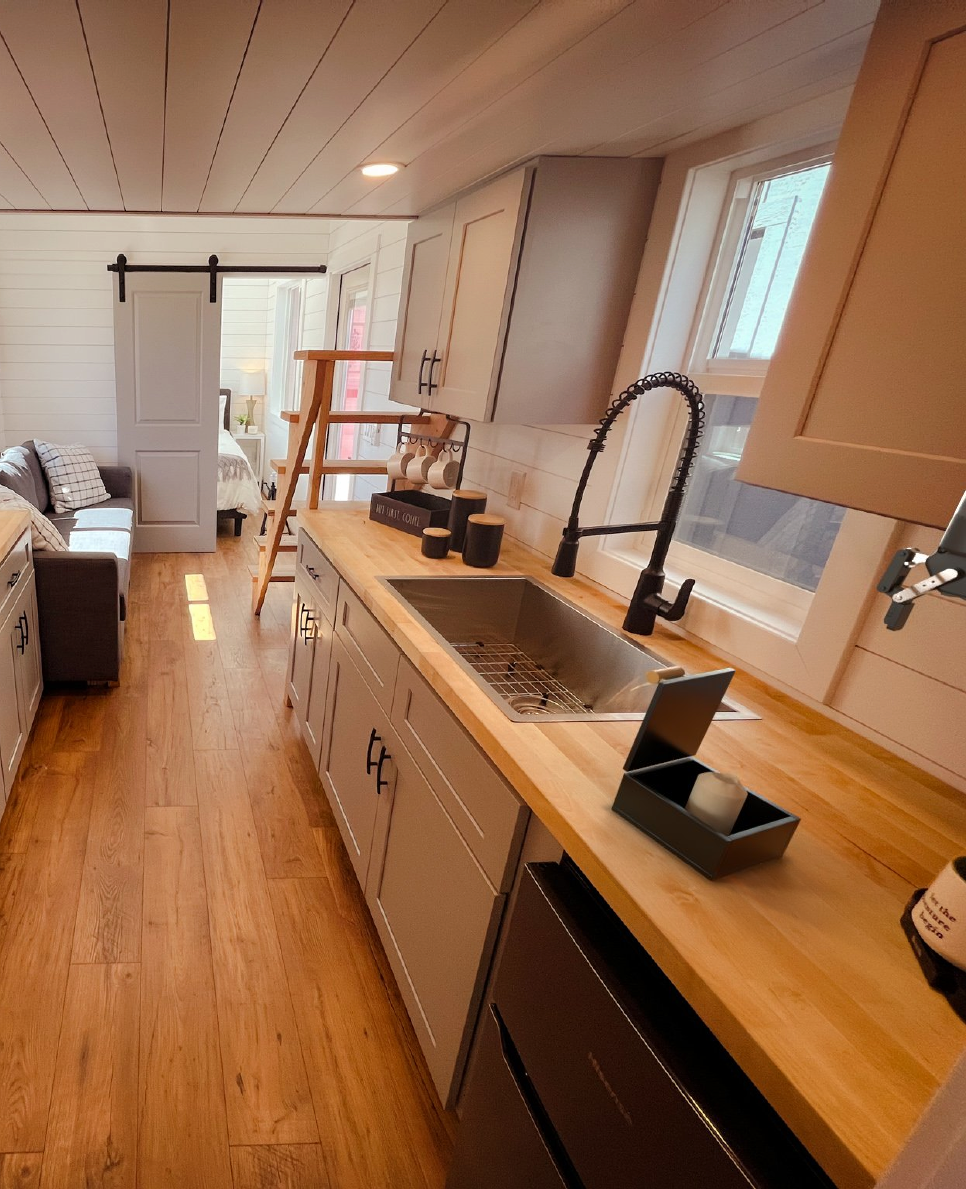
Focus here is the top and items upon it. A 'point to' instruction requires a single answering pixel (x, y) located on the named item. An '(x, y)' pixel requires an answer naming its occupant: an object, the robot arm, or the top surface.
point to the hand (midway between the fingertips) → (938, 643)
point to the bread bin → (661, 814)
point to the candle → (717, 800)
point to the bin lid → (677, 715)
